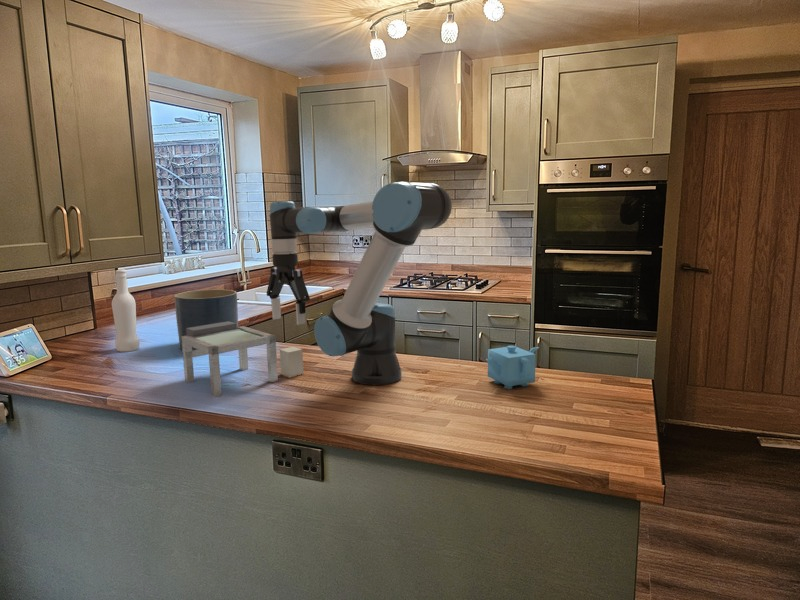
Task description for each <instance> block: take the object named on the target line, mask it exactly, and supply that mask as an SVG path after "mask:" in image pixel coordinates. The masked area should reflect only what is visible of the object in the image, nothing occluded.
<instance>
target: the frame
mask: <svg viewBox="0 0 800 600" xmlns="http://www.w3.org/2000/svg"><path fill="white" fill-rule="evenodd" d="M237 329H240V330H241V331H245V332H248V333H251V334H254V335H258V336H261V337H257V338H252V339H247V340H241V341H236V342H231V343H225V344H220V345H212V344H210V343H207V342H205V341H202V340H199V339H197V338H194V337H191V336H189V335H187V336H181V337H182V349H183V351H182V360H183V372H184V382H185V383H187V384H189V383H194V382H195V373H194V362H193V360H194V359H193V358H196V357H201V356H206V355H208V363H209V377H210V390H211V391H210V392H211V396H212V397H214V398H217V397H221V396H222V382H221V381H222V380H221V367H220V366H221V365H220V354H224V353H230V352H235V351H238V362H239V365H238V366H239V370H240V371H241V370H242V371H245V370H249V358H248V349H249V348H254V347H259V346H264V345H266V359H267V376H268V382H270V383H276V382H278V380H279V376H278V362H277V361H278V359H277V357H278V356H277V339H276V335H274V334H270V333H268V332H264V331H261V330H258V329H254V328H251V327H248V326H244V325H241V326H240V325H239V326H238V327H237ZM192 347H193V348H196V349H192Z"/></svg>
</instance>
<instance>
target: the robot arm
mask: <svg viewBox="0 0 800 600" xmlns="http://www.w3.org/2000/svg"><path fill="white" fill-rule="evenodd" d="M451 198H452V197H450V194H449V193H448V191H447V190H446V189H445V188H444V187H442V186H441V185H439V184H436V183H432V182H411V181H410V182H409V181H405V180H402V181H395V182H389V183H387V184H385V185H383V186H382V187H381V188H380V189H378V191H377V192H376V193H375V196H374V198H373V201H368V202H359V203H354V204H347V205H340V206H327V207H326V206H305V207H303V206H302V207H296V204H295V202H294V201H291V200H290V201H289V200H287V201H286V200H285V201H272V202H270V204H269V221H270V222H269V223H270V234H271V235H270V237H271V252H272V253H273V254H272V255H271V256H272V266H274V267H270V276H269V281H268V285H267V291H266V296H267V297H269V299H270V302H271V313H272V314H271V316H272V320H278V319H282V308H281V298H280V294H281V291H282V289H283V287H284V284H286V285H287V286H288V287H289V288H290V290H291V292H292V293H293V296H294V298H295V300H296V302H295V313H296V325H298V326H301V325H306V324H307V319H306V313H307V312H306V303H307V302H309V301H310V300H311V297H310V295H309V292H308V288H307V286H306V283H305V280H304V277H303V270H302V269H296V266H298V265H299V258H298V253H296V252H297V251H298V244H297V243H298V240H297V237H298V236H297V234H306V235H312V234H313V235H314V234H319V233H335V232H336V233H337V232H338V233H339V232H342V233H343V232H348V231H355V230H363V229H374V233H373V235H372V237H371V239H370V241H369V243H368V245H367V247H366V250H365V251H364V254H363V256H362V258H361V260H360V261H359V264H358V266H357V267H356V270H355V272H354V275H353V276H352V279H351V280H350V282H349V285H348V286H347V289H346V291H345V292H344V295H343V296H342V299H338V300H336V301H335V302H334V303H333V305H332V306H331V308H330V310H329V312H328V314H327V315H322V316H320V317H319V318H317V319H316V321H315V323H314V328H313V330H314V331H313V332H314V338H315V341H316V344H317V346H318V347H319V349H320V351H322V353H324V354H325V355H326V356H328V357H333V358H334V357H339V356H341V357H342V356H345V355H347V354H350V353H353V352H356V357H355V361H354V364H353V368H352V369H351V380H352V381H353V382H354V383H357V384H362V385H369V386H381V385H388V384H392V383H397V382H398V381H400V380H401V379H402V368H401V366H400V362H399V359H398V357H397V354H396V318H397V317H396V315H395V313H396V312H395V307H394V306H393V305H391V304H389V303H382V302H377V301H378V299H379V298H380V296H381V294H382V292H383V290H384V288H385V286H386V285H387V283H388V281H389V279H390V277H391V276H392V273H393V272H394V269H395V267H396V266H397V264H398V262H399V260H400V258H401V256H402V254H403V253H404V251H405V249H406V248H408V247H411V246H413V245H414V244H416V241H417V239H418V237H419V235H420V233H421V232H422V231H423V230H424V231H425V230H433V229H436V228H439V227H441V226H443V225H444V224H445V223H446V222H447V221H448V219H449V218H450V216H451V213H452V207H453V202H452V199H451Z"/></svg>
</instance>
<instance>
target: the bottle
mask: <svg viewBox="0 0 800 600" xmlns="http://www.w3.org/2000/svg"><path fill="white" fill-rule="evenodd" d="M114 275H115V276H114V277H115V283H116V285H115V286H116V293H115V295H114V296H113V298H112V300H111V310H112V315H113V320H114V321H113V322H114V328H115V335H116V336H115V341H114V343H115V349H116V350H117V352H120V353H125V352H127V353H128V352H133V351H137V350H138V349H140V345H141V344H140V339H139V338H140V337H139V336H138V333H137V310H136V309H137V307H136V306H137V304H136V300H135V298H134V296H133V294H131V292H129V288H128V280H127V278H128V277H127V270H126V269H123V268H122V269H117V270H115V274H114Z"/></svg>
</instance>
